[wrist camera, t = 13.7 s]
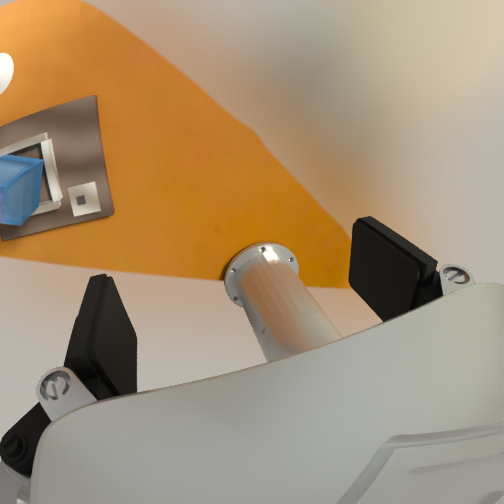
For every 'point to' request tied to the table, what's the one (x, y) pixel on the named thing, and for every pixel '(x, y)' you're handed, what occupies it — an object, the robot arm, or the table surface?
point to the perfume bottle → (19, 188)
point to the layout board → (61, 165)
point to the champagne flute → (5, 71)
